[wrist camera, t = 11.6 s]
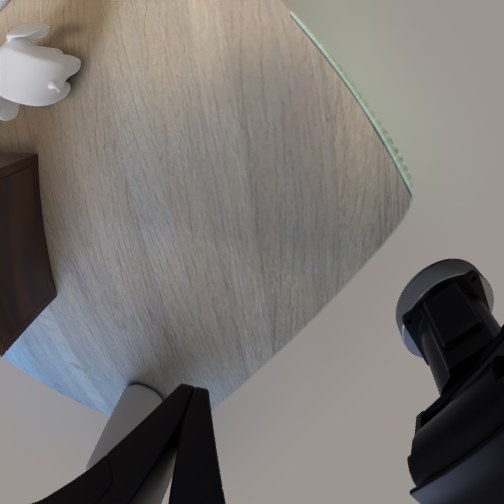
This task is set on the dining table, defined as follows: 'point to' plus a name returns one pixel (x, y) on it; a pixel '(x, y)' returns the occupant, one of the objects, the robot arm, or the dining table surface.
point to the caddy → (21, 248)
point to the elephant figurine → (32, 71)
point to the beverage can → (125, 418)
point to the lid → (2, 349)
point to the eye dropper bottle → (3, 3)
